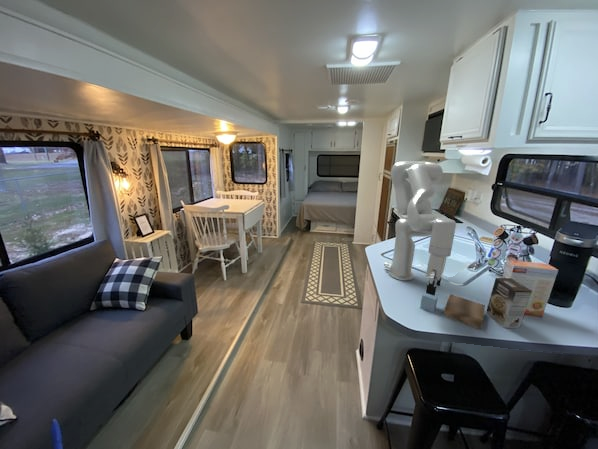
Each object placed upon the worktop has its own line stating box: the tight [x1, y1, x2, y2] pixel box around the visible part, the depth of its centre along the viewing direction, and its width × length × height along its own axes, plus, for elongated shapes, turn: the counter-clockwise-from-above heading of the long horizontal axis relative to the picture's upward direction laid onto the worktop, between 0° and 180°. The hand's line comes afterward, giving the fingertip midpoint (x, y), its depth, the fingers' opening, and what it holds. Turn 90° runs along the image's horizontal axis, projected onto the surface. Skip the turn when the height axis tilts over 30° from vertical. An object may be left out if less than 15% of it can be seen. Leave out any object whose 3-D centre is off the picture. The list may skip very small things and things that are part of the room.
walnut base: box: [443, 293, 486, 330], centre depth 94 cm, size 12×12×4 cm
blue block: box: [419, 289, 439, 313], centre depth 99 cm, size 5×5×6 cm
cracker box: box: [501, 259, 559, 317], centre depth 96 cm, size 14×6×21 cm, turn 73°
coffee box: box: [485, 277, 532, 329], centre depth 90 cm, size 9×6×16 cm
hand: (433, 289), depth 96 cm, fingers open, 9 cm apart
